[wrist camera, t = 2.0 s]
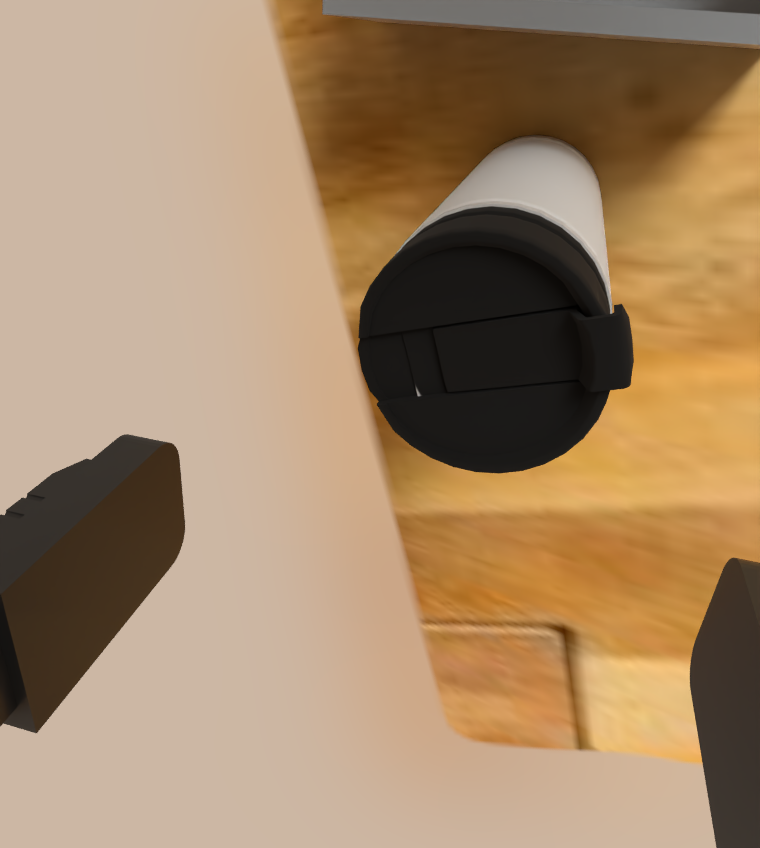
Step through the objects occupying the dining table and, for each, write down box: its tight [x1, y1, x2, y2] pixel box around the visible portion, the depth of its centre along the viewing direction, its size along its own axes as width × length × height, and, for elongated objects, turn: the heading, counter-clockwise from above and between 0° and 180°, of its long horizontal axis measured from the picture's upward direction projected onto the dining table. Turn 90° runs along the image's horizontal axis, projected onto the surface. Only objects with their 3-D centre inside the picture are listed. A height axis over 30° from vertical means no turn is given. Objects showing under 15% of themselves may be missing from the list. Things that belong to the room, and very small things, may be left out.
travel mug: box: [358, 135, 634, 473], centre depth 24 cm, size 6×7×20 cm
